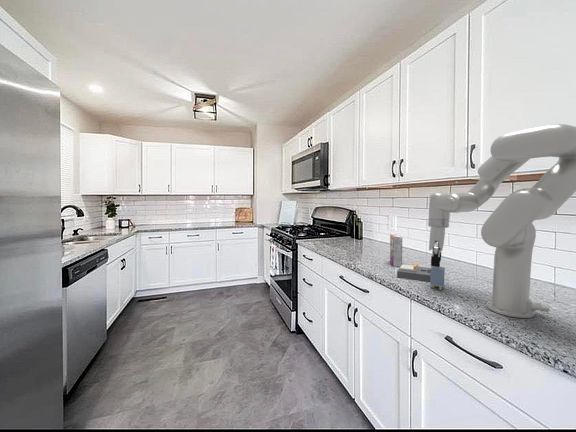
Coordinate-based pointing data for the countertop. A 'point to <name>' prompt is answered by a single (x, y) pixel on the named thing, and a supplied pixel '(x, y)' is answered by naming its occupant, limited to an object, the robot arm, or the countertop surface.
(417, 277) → the socket
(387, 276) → the countertop surface
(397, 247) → the candy bar box
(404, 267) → the shutter
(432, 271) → the plug
